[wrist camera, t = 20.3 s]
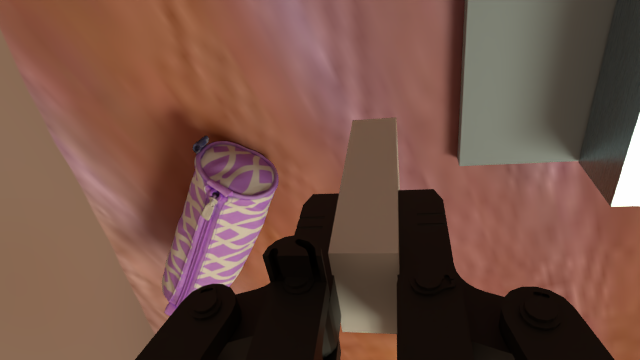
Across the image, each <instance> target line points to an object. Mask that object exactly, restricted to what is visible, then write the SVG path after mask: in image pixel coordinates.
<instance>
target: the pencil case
mask: <svg viewBox="0 0 640 360" xmlns="http://www.w3.org/2000/svg"><path fill="white" fill-rule="evenodd" d="M208 141H209V138H208V136H204V137H203V138H202V139H200V140H199V141H198V142H196V143H195V144H194V145H193V151H194V152H195V153H196V157H195V161H194V163H195V172H194V175H193V178H192V181H191V184H190V188H189V192H188V195H187V199H186V202H185V205H184V210H183V213H182V215H181V217H180V219H179V221H178V225H177V228H176V232H175V236H174V240H173V243H172V246H171V249H170V252H169V254H168V257H167V260H166V264H165V272H164V275H163V278H162V290H163V294H164V295H165V297H166V298H167V300H168V301H169V304H168V305H167V307H166V309H165V312H164V313H165V314H167V315H169V316H171V315H172V313H173V312H174V311H175V310H176V308H177V307H178V306H179V305H180V303H181V302H182V301H183V300H184V299H185V298H186V297H187V296H188V295H189V294H190V293H191V292H193V291H195V290H196V289H198V288H200V287H202V286H205V285H209V284H224V285H226V286H228V287H230V285H231V284H232V283H233V281H234V280H235V279H236V277H237V276H238V275H239V273H240V271H241V270H242V268H243V265H244V263H245V261H246V259H247V258H248V255H249V253H250V251H251V250H252V247H253V245H254V243H255V241H256V239H257V237H258V235H259V233H260V231H261V229H262V226H263V224H264V221H265V218H266V215H267V212H268V208H269V205H270V202H271V200H272V198H273V196H274V192H275V190H276V188H277V186H278V174H277V170H276V168H275V166H274V165H273V164H272V163H271V162H270V161H269V160H268V159H267V158H265V157H264V156H263V155H262V154H260V153H258V152H256V151H254V150H250V149H248V148H245V147H243V146H241V145H239V144H236V143H233V142H229V141H217V142H213V143H210V144H208V145H206V144H207V143H208Z"/></svg>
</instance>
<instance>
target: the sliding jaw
mask: <svg viewBox="0 0 640 360" xmlns="http://www.w3.org/2000/svg"><path fill="white" fill-rule="evenodd" d="M579 164H580V165H581V166H582V168H583V169H584V170H585V172H586V173H587V175H588V176H589V177H590V179H591V180H592V181H593V183H594V184H595V186H596V187H597V188H598V190H599V191H600V192H601V194H602V195H603V197H604V198H605V199H606V201H607V202H608V204H609V205H610V206H611V207H615V206H640V0H617V1H616V6H615V10H614V14H613V18H612V23H611V27H610V31H609V35H608V39H607V44H606V48H605V52H604V56H603V61H602V65H601V69H600V73H599V77H598V82H597V86H596V90H595V94H594V99H593V103H592V107H591V111H590V115H589V120H588V124H587V128H586V132H585V137H584V141H583V145H582V149H581V153H580V158H579Z"/></svg>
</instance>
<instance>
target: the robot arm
mask: <svg viewBox="0 0 640 360" xmlns="http://www.w3.org/2000/svg"><path fill="white" fill-rule="evenodd" d="M263 259H264V262H265V266H266V269H267V272H268V275H269V279H270V283H269V284H268V285H266V286H264V287H261V288H258V289H256V290H252V291H248V292H244V293H240V294H236V295H235V293H234V292H233V290H232V289H231V288H230V287H228V286H226V285H224V284H209V285H205V286H202V287H200V288H198V289H196V290H195V291H193V292H191V293H190V294H189V295H188V296H187V297H186V298H185V299H184V300H183V301H182V302H181V303H180V305H179V306H178V307H177V308H176V310H175V311H174V312H173V313H172V315H171V316H170V317H169V318H168V320H167V321H166V322H165V323H164V324H163V326H162V327H161V328H160V329H159V331H158V332H157V333H156V334H155V336H154V337H153V338H152V339H151V341H150V342H149V343H148V344H147V346H146V347H145V348H144V349H143V351H142V352H141V353H140V354H139V355H138V357H137V358H136V359H135V360H340V355H341V350H340V342H339V330H340V323H341V326H342V331H343V332H362V333H388V334H397V360H614V358H613V357H612V356H611V354H610V353H609V352H608V351H607V349H606V348H605V347H604V345H603V344H602V343H601V341H600V340H599V339H598V338H597V336H596V335H595V334H594V332H593V331H592V330H591V328H590V327H589V326H588V325H587V323H586V322H585V321H584V319H583V318H582V317H581V315H580V314H579V313H578V312H577V310H576V309H575V308H574V307H573V306H572V305H571V304H570V303H569V302H568V301H567V300H566V299H565V298H564V297H562V296H560V295H558V294H556V293H554V292H552V291H550V290H547V289H543V288H539V287H520V288H517V289H514V290H512V291H510V292H509V293H508V294H507V295H506V296H505V297H503V296H499V295H495V294H491V293H488V292H485V291H482V290H479V289H476V288H474V287H473V286H471V285H469V284H468V283H466V282H465V281H464V280H463V279H462V278H461V277H460V276H459V274H458V273H457V272H456V269H455V266H454V263H453V257H452V251H451V245H450V239H449V233H448V227H447V221H446V215H445V209H444V203H443V199H442V198H441V197H440V196H439V195H438V194H437V193H436V191H435V190H434V189H426V190H400V187H399V164H398V143H397V123H396V118H382V119H368V120H353V122H352V127H351V133H350V138H349V143H348V149H347V154H346V159H345V165H344V170H343V176H342V181H341V186H340V192H339V194H313V195H312V196H311V197H310V198H309V199H308V200H307V202H306V203H305V204H304V205H303V208H302V211H301V214H300V219H299V221H298V225H297V229H296V231H295V235H294V236H288V237H284V238H282V239H280V240H277V241H275V242H274V243H273V244H272V245H270V246H269V247H268V248H267V249H266V251H265V253H264V254H263Z"/></svg>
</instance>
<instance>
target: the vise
mask: <svg viewBox="0 0 640 360" xmlns="http://www.w3.org/2000/svg"><path fill="white" fill-rule="evenodd" d="M616 1H617V0H465V8H464V30H463V51H462V72H461V93H460V114H459V135H458V157H457V159H458V162H459V166H472V165H495V164H519V163H542V162H565V161H579V158H580V153H581V149H582V145H583V141H584V137H585V132H586V128H587V124H588V120H589V115H590V111H591V107H592V103H593V99H594V94H595V90H596V86H597V82H598V77H599V73H600V69H601V65H602V61H603V56H604V52H605V48H606V44H607V39H608V35H609V31H610V27H611V23H612V18H613V14H614V10H615V6H616Z"/></svg>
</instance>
